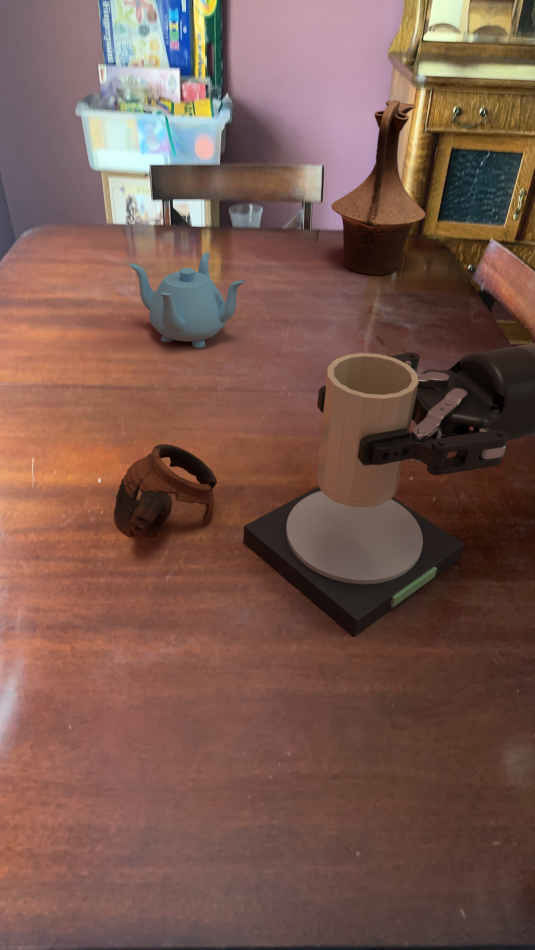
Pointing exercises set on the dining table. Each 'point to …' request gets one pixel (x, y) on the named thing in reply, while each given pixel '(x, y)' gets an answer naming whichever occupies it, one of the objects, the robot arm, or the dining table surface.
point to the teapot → (187, 304)
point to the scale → (352, 554)
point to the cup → (362, 425)
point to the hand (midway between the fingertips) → (339, 425)
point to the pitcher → (379, 204)
